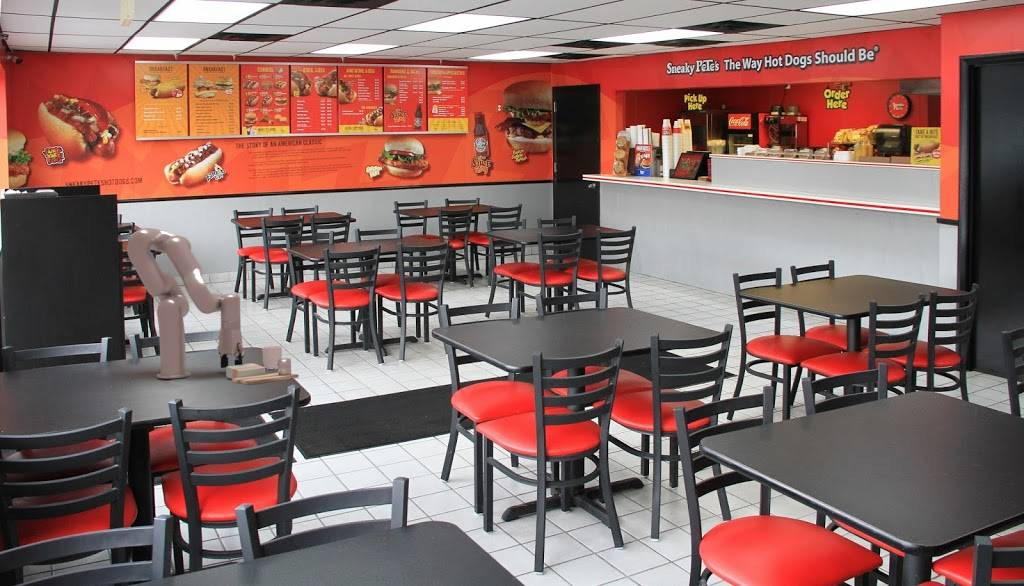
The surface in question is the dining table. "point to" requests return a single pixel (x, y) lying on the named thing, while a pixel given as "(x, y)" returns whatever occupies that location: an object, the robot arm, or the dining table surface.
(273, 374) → the wooden board
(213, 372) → the dining table surface
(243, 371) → the carton
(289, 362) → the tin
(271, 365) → the pink cup
